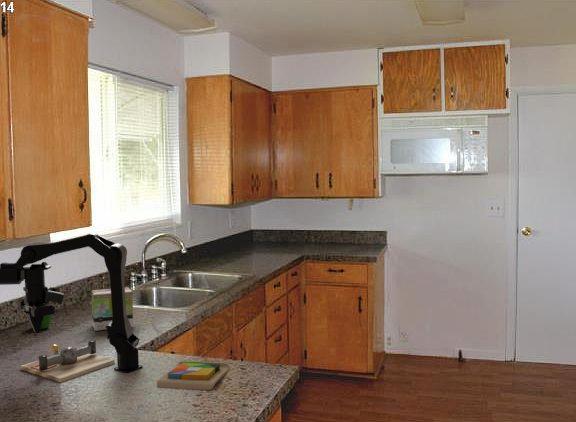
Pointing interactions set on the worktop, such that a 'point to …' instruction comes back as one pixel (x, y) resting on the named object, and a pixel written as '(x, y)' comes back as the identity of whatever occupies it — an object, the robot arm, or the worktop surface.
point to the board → (70, 367)
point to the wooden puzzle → (194, 375)
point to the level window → (41, 370)
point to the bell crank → (65, 355)
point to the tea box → (108, 308)
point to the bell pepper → (46, 321)
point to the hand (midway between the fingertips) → (37, 332)
